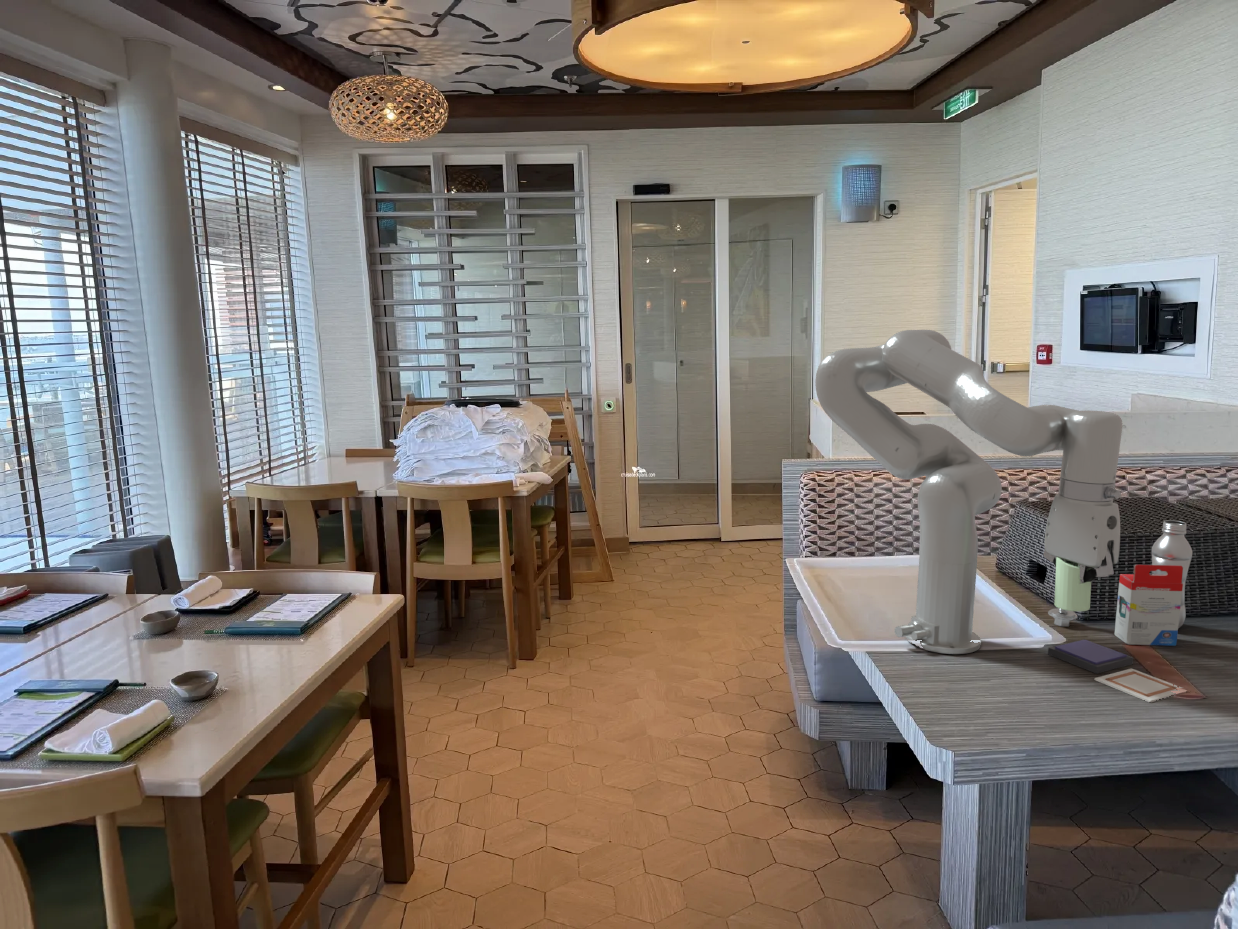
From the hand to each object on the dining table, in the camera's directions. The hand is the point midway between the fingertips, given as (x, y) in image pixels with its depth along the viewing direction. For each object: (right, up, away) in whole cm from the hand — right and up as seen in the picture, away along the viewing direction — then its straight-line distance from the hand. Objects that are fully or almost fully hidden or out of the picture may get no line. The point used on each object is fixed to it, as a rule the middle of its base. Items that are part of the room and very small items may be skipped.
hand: (1072, 603), depth 135 cm
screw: (+11, -8, +25) cm, 29 cm away
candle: (0, -1, 0) cm, 1 cm away
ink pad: (+8, -11, +9) cm, 16 cm away
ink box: (+22, -10, +17) cm, 29 cm away
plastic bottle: (+30, -8, +24) cm, 39 cm away
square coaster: (+10, -13, -2) cm, 16 cm away
